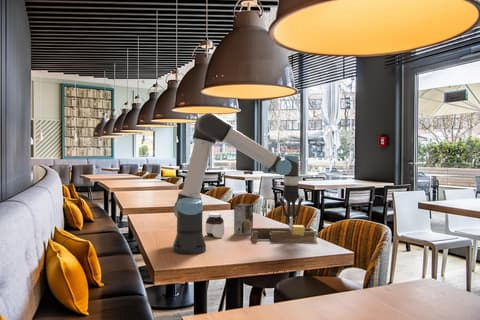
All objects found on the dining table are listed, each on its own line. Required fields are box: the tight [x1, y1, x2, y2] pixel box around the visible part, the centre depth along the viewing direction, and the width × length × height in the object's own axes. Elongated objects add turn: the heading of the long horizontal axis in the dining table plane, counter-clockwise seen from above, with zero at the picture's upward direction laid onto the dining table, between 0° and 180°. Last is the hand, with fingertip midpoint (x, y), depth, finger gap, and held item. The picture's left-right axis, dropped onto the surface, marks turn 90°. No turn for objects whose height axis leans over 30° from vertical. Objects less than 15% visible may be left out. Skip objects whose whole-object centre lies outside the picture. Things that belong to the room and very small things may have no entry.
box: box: [250, 226, 318, 243], centre depth 212 cm, size 10×33×6 cm, turn 93°
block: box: [291, 224, 306, 235], centre depth 213 cm, size 5×6×4 cm
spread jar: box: [205, 212, 225, 239], centre depth 219 cm, size 12×11×12 cm
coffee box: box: [233, 203, 254, 236], centre depth 226 cm, size 9×6×16 cm
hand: (290, 229), depth 213 cm, fingers closed
